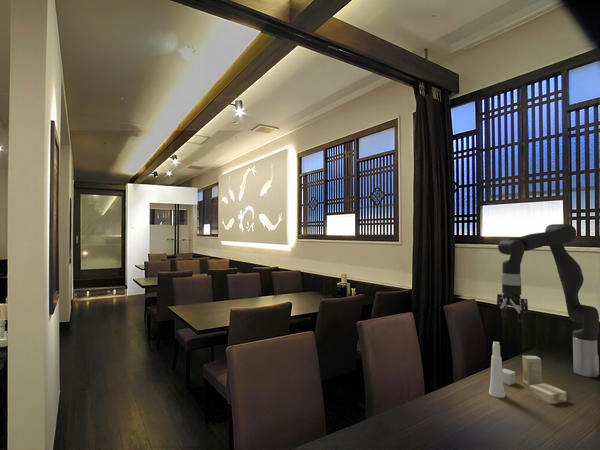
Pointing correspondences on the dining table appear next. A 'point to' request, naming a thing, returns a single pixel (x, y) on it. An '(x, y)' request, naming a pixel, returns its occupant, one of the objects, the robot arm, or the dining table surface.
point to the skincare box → (532, 370)
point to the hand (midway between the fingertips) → (512, 319)
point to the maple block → (547, 393)
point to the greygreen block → (509, 376)
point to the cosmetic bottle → (496, 373)
